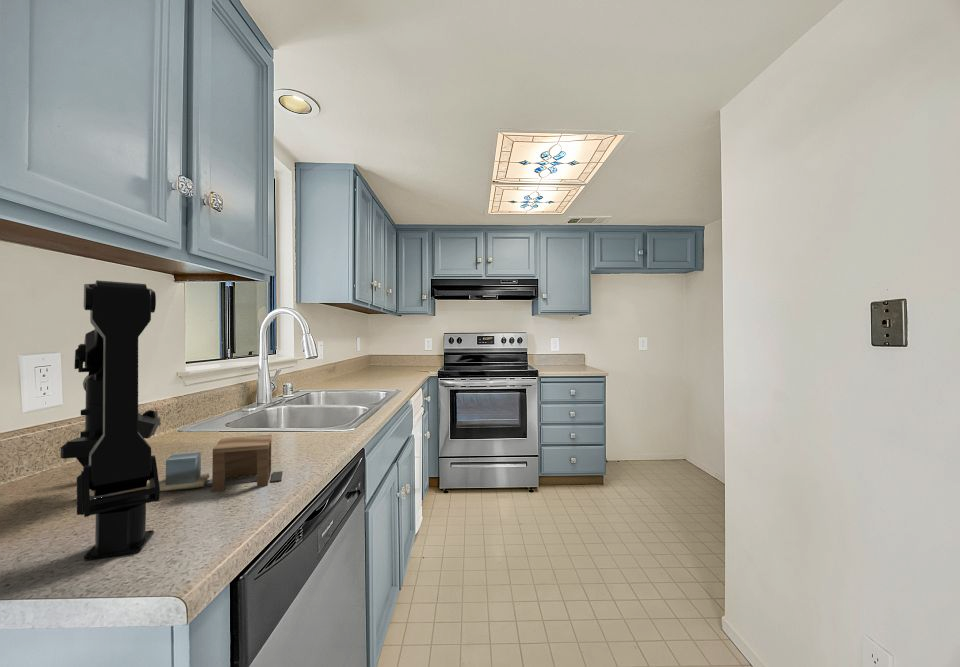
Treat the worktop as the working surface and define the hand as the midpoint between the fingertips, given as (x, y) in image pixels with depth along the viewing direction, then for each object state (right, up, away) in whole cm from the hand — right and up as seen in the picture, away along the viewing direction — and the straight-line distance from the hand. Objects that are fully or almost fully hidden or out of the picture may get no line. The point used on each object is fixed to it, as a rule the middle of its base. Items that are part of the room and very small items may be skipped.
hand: (104, 482), depth 83 cm
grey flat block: (+28, -3, +12) cm, 31 cm away
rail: (+12, -3, +5) cm, 13 cm away
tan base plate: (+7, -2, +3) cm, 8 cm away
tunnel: (+22, -3, +9) cm, 24 cm away
